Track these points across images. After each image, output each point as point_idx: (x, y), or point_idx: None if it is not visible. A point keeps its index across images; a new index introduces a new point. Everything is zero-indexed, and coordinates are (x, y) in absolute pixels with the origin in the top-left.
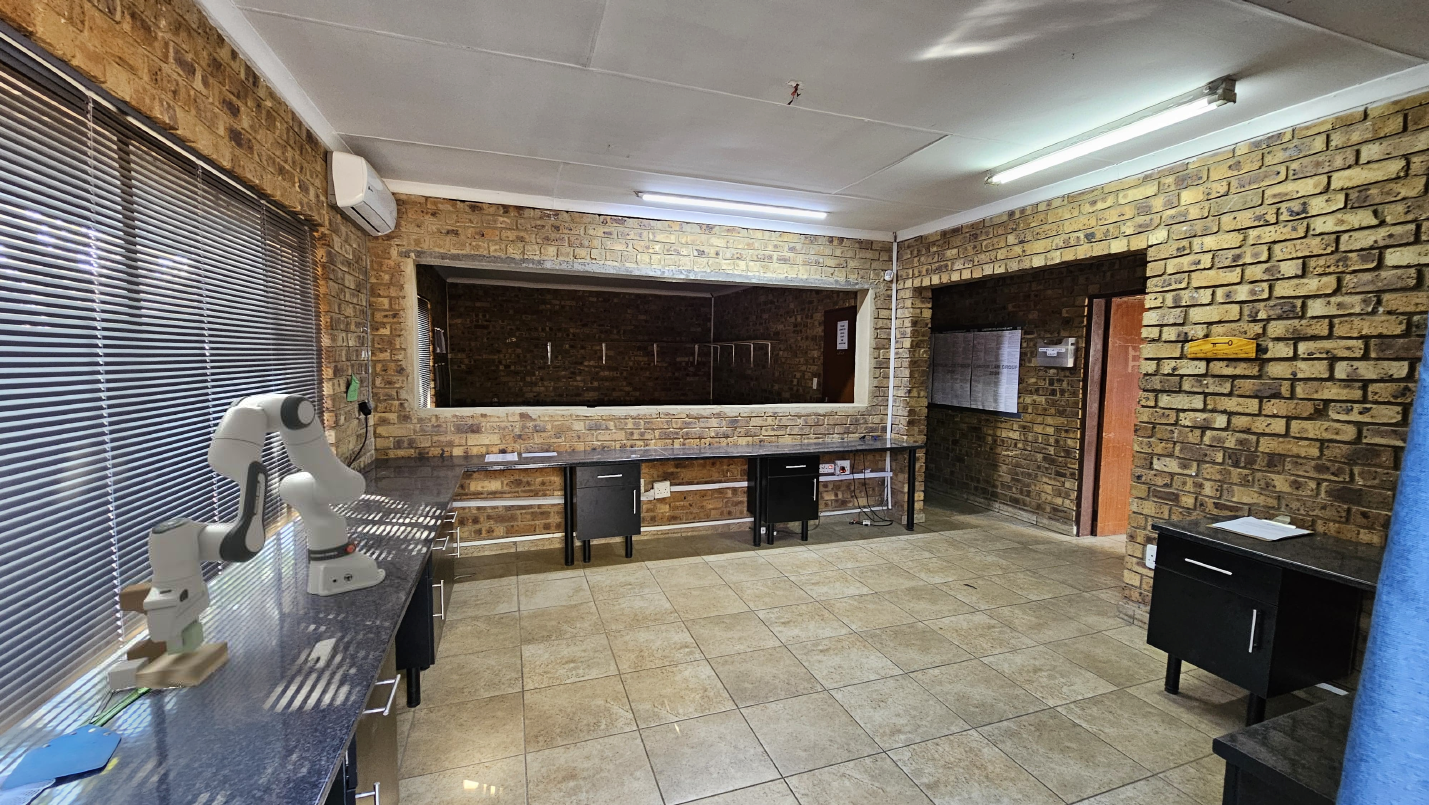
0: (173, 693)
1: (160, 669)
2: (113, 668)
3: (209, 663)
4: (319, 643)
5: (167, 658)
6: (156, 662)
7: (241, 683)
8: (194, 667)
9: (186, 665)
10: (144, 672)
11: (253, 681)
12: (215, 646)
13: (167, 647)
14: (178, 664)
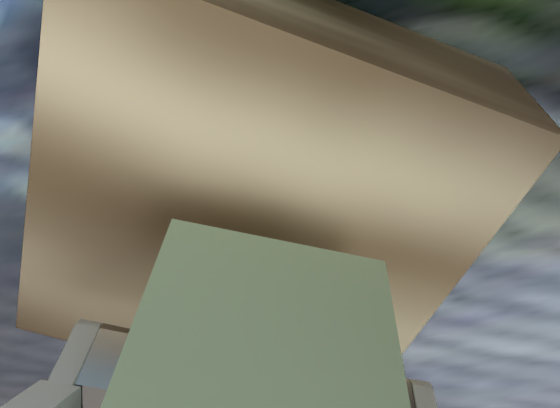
0: (16, 143)
1: (63, 144)
2: None
3: None
4: None
5: (303, 152)
6: (266, 81)
7: (3, 367)
8: (19, 314)
9: (55, 283)
10: (61, 26)
11: (4, 395)
12: None
13: (150, 282)
14: (104, 240)
